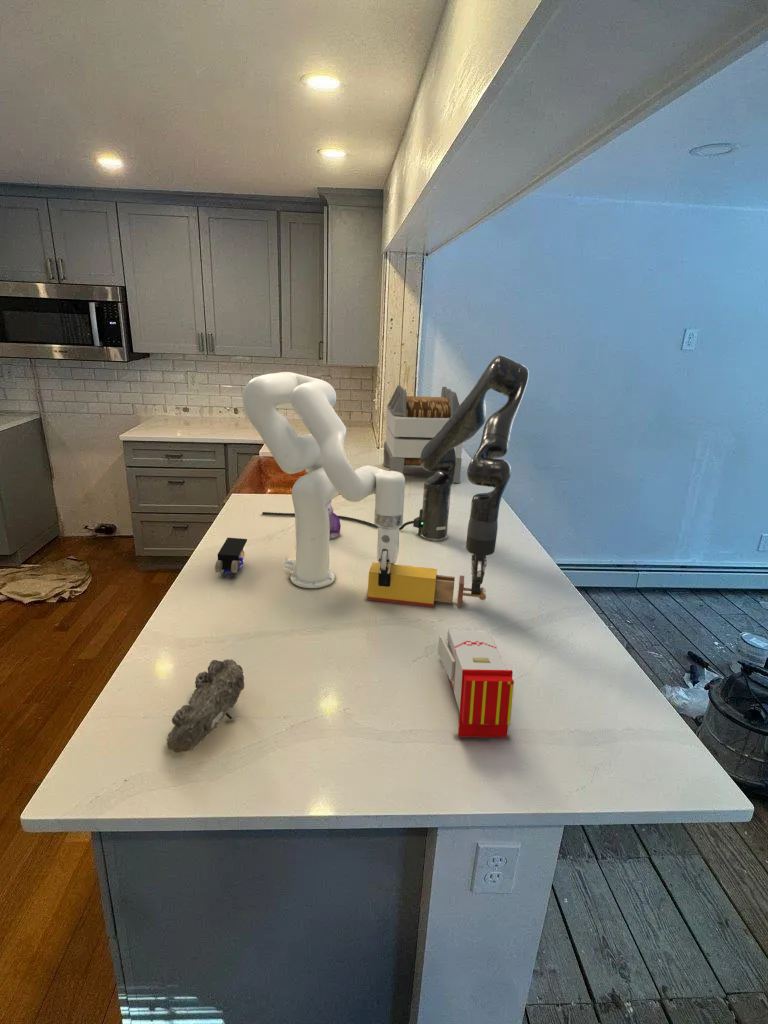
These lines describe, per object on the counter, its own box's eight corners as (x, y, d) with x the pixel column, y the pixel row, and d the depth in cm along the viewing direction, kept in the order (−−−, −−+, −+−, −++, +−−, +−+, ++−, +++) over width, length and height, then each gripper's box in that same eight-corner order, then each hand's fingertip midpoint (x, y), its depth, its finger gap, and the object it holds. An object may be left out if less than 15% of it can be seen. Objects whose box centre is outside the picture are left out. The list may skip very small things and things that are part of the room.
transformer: (382, 463, 289) (386, 382, 275) (445, 464, 293) (451, 384, 279) (390, 482, 257) (394, 392, 243) (460, 483, 261) (468, 394, 247)
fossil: (192, 660, 117) (244, 628, 112) (224, 691, 120) (276, 661, 115) (142, 746, 98) (202, 712, 93) (182, 779, 101) (242, 748, 96)
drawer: (484, 600, 155) (486, 578, 153) (484, 608, 150) (487, 586, 148) (401, 590, 158) (402, 569, 155) (399, 599, 153) (400, 577, 151)
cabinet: (434, 596, 157) (437, 568, 155) (433, 607, 152) (435, 578, 149) (371, 589, 160) (372, 562, 157) (367, 599, 154) (368, 571, 151)
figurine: (320, 542, 189) (321, 500, 184) (310, 531, 198) (309, 490, 193) (346, 538, 193) (347, 496, 188) (335, 528, 202) (335, 488, 197)
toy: (488, 613, 130) (523, 677, 101) (484, 667, 133) (517, 744, 104) (435, 612, 130) (455, 676, 101) (432, 666, 133) (451, 743, 103)
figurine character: (238, 584, 162) (249, 557, 175) (236, 562, 158) (247, 536, 172) (215, 584, 161) (227, 556, 175) (212, 561, 158) (225, 535, 171)
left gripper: (399, 531, 140) (395, 596, 146) (406, 508, 156) (402, 568, 162) (369, 528, 141) (367, 593, 147) (379, 506, 157) (376, 565, 163)
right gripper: (498, 545, 140) (490, 607, 145) (495, 526, 152) (488, 584, 158) (467, 542, 140) (460, 604, 146) (467, 523, 153) (461, 581, 159)
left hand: (385, 579), depth 154 cm, fingers closed on cabinet, 6 cm apart
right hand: (475, 593), depth 152 cm, fingers closed
